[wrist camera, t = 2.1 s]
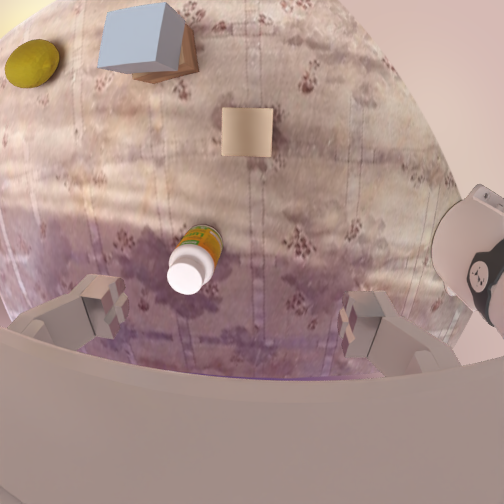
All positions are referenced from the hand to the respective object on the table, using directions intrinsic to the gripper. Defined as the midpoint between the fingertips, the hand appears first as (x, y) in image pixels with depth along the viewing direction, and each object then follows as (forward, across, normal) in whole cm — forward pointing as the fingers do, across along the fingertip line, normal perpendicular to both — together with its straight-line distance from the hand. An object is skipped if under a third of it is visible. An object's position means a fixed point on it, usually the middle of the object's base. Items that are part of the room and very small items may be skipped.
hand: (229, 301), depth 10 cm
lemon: (+27, +33, -19) cm, 47 cm away
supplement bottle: (+27, +7, +10) cm, 30 cm away
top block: (+21, +11, -15) cm, 28 cm away
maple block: (+27, +1, -5) cm, 27 cm away
